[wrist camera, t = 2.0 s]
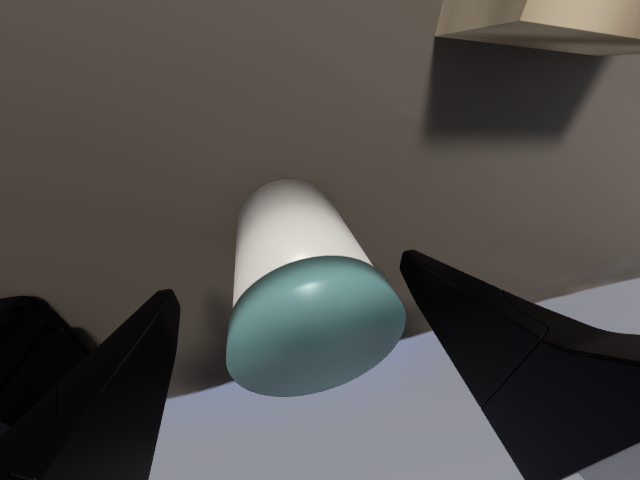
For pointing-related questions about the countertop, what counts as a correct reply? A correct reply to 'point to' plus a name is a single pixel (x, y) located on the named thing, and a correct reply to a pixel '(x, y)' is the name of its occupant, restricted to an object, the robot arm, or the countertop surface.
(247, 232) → the white jar
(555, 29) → the beech block
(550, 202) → the countertop surface
